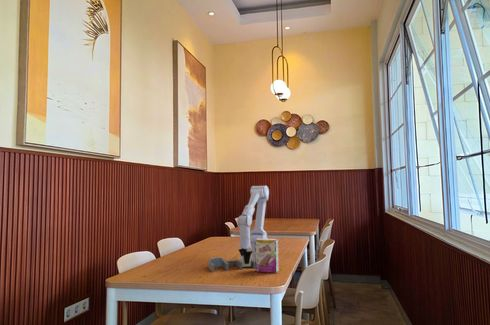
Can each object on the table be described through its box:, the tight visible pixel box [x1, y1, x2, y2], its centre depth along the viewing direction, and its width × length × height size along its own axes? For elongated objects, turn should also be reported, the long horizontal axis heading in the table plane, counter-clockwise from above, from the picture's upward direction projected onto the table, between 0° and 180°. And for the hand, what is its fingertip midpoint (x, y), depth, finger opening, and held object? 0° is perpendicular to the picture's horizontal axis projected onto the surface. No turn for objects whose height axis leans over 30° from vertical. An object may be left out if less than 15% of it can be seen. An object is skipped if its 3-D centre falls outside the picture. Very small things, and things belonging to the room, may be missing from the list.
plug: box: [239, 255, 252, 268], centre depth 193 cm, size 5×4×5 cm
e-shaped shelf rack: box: [207, 256, 256, 273], centre depth 192 cm, size 24×12×5 cm, turn 106°
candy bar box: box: [255, 238, 280, 274], centre depth 181 cm, size 11×5×16 cm, turn 71°
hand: (245, 263), depth 193 cm, fingers closed on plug, 4 cm apart
